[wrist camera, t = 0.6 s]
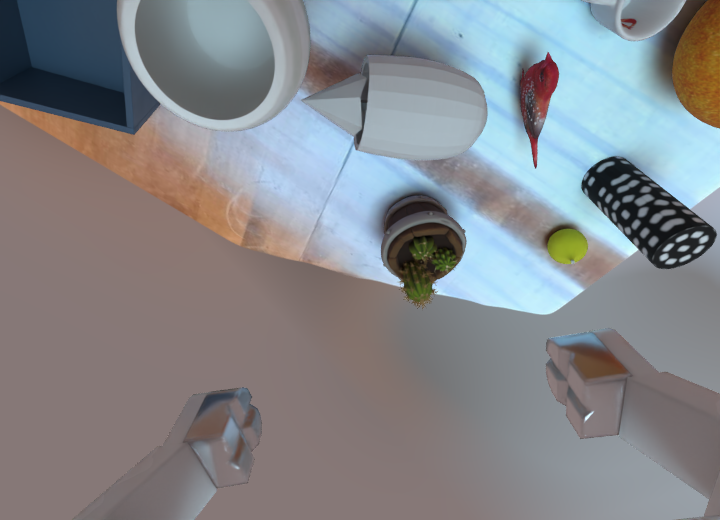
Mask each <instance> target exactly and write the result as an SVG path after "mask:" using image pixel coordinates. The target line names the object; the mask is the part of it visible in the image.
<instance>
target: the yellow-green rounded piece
mask: <svg viewBox="0 0 720 520" xmlns="http://www.w3.org/2000/svg"><path fill="white" fill-rule="evenodd" d="M547 248H548V252H549V254H550V256H551V257H552V258H553V259H554V260H555V261H557V262H559V263H563V264H571V263H572V264H574V263H575V262H577V261H579V260H581V259H582V258H583V257H584V256H585V254H586V252H587V249H588V243H587V240H586V238H585V237H584V235H583V234H582V233H580V232H579V231H577V230H574V229H562V230H559V231H557V232H556V233H554V234H553V235H552V236H551V237H550V239H549V241H548V245H547Z"/></svg>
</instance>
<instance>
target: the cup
mask: <svg viewBox="0 0 720 520" xmlns="http://www.w3.org/2000/svg"><path fill="white" fill-rule="evenodd" d="M582 1H585V2H588V3H591V12H592V14H593V16H594V18H595V19H596V20H597V21H598V22H599V23H600V24H602V25H603V26H605V27H606V28H608V29H609V30H611V31H613V32H614V33H616V34H617V35H619V36H620V37H622V38H623V39H625V40H629V41H640V40H644V39H647V38H650V37H652V36H654V35H655V34H657V33H658V32H660V31H661V30H663V29H664V28H665V27H666V26H667V25H668V24H669V23H670V22H671V21H672V20H673V19H674V18H675V17H676V16H677V14H678V13H679V12H680V10H681V8H682V7H683V5H684V3H685V1H686V0H582Z"/></svg>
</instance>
